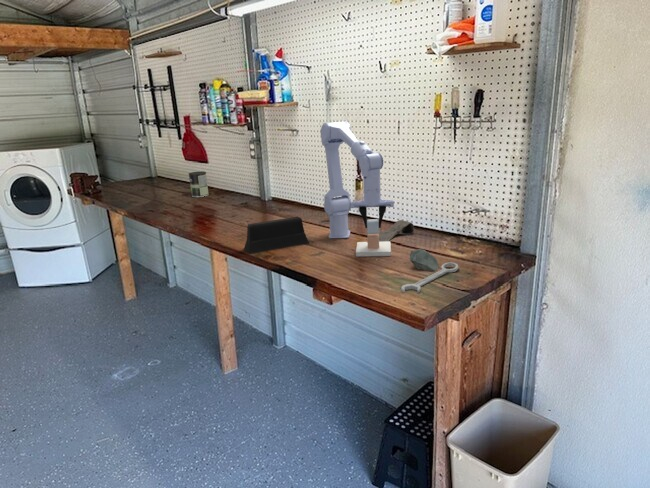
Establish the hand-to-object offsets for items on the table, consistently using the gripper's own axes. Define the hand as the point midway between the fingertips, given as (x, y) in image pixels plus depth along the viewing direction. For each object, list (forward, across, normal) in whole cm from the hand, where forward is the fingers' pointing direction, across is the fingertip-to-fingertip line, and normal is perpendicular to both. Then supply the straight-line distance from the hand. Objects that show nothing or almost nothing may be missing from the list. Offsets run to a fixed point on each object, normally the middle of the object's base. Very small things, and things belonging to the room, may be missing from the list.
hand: (373, 227), depth 166 cm
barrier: (+9, -37, +8) cm, 39 cm away
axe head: (+9, +6, +17) cm, 21 cm away
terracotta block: (+7, 0, 0) cm, 7 cm away
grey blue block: (+2, 0, 0) cm, 2 cm away
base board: (+9, 0, 0) cm, 9 cm away
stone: (+9, +17, -16) cm, 25 cm away
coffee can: (+9, -108, +114) cm, 157 cm away
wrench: (+9, +17, -28) cm, 34 cm away
